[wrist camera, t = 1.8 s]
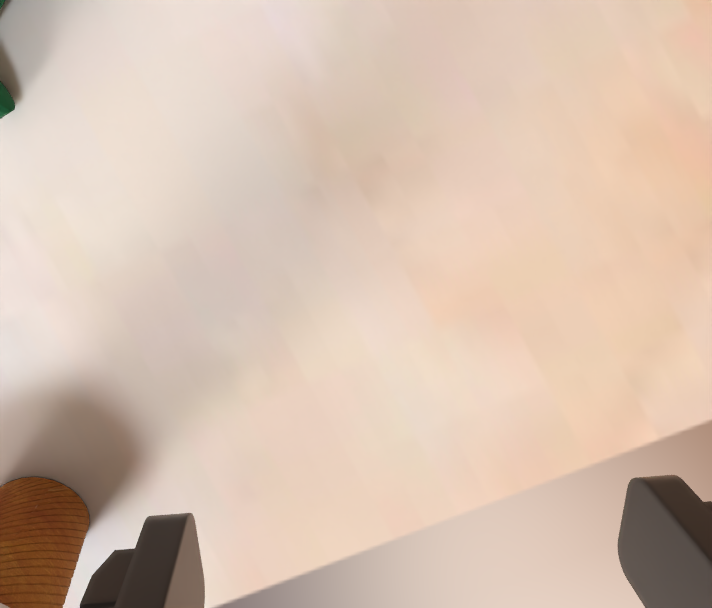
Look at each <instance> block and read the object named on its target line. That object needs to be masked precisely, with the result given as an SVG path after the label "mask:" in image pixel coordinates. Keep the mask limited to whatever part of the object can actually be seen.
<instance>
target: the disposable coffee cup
mask: <svg viewBox="0 0 712 608" xmlns="http://www.w3.org/2000/svg"><path fill="white" fill-rule="evenodd" d="M89 523H90V522H89V513H88V510H87V507H86V506H85V504H84V502H83V501H82V499H81V498H80V497H79V496H78V495H77V494H76V493H75V492H74V491H73V490H71V489H70V488H68V487H66V486H65V485H63V484H61V483H59V482H56V481H54V480H49V479H45V478H38V477H28V478H20V479H17V480H13V481H11V482H8V483H6V484H5V485H3V486H2V487H1V488H0V608H63V606H62V605H64V603H65V599H66V597H65V596H67V593H68V589H69V588H68V587H70V583H71V578H72V577H73V574H74V570H75V568H76V564H77V563H76V562H78V558H79V554H80V552H81V548H82V547H81V546H83V542H84V539H85V536H86V533H87V531H88V527H89Z"/></svg>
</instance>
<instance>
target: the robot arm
mask: <svg viewBox="0 0 712 608" xmlns="http://www.w3.org/2000/svg"><path fill="white" fill-rule="evenodd" d="M618 554H619V559H620V563H621V567H622V569H623V572H624V574H625V576H626V578H627V579H628V581H629V583H630V584H631V586H632V587H633V589H634V590H635V592H636V594H637V595H638V597H639V598H640V600H641V601H642V603H643V605H644V606H645V608H712V502H711V501H710V502H703V501H702V500H701V499H700V498H699V497H698V496H697V495H696V494H695V493H694V492H693V490H692V489H691V488H690V487H689V486H688V485H687V484H686V483H685V482H684V481H683V480H682V479H681V478H679V477H678V476H675V475H665V476H653V477H639V478H633V479H632V480H631V481H630V482H629V485H628V488H627V493H626V499H625V505H624V510H623V516H622V521H621V527H620V532H619V538H618ZM204 600H205V586H204V575H203V569H202V562H201V556H200V550H199V544H198V537H197V531H196V525H195V520H194V516H193V514H192V513H184V514H171V515H158V516H149V517H147V519H146V520H145V522H144V525H143V528H142V531H141V533H140V536H139V539H138V542H137V545H136V548H135V549H125V550H115V551H114V552H113V553H112V554H111V555H110V556H109V557H108V559H107V560H106V561H105V562H104V563H103V564H102V565H101V566H100V567H99V569H98V570H97V571H96V572H95V573H94V574H93V575H92V577H91V579H90V582H89V584H88V587H87V589H86V591H85V594H84V596H83V598H82V601H81V603H80V608H204Z"/></svg>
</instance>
